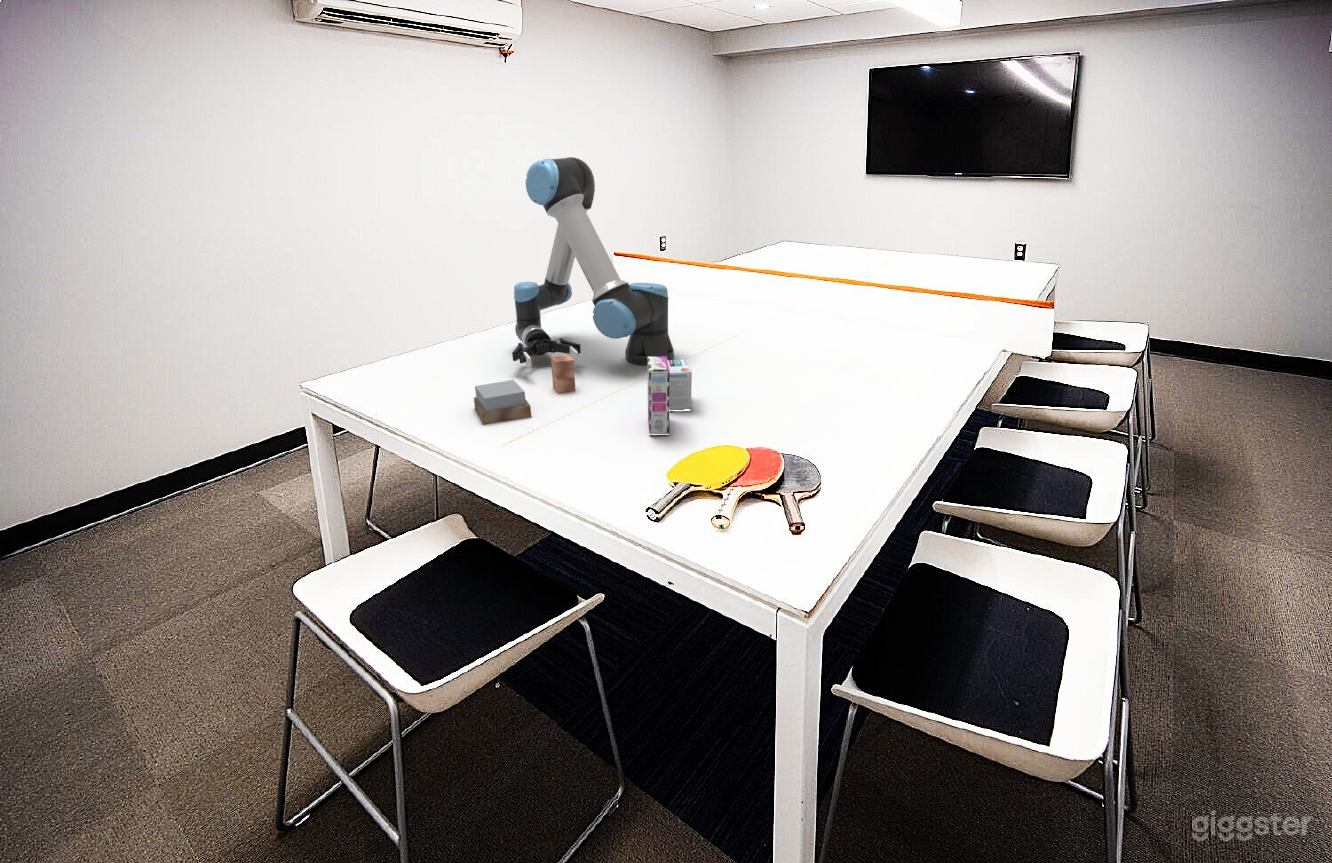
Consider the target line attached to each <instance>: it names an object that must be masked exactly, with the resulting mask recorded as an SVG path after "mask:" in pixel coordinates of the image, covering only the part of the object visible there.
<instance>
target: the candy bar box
mask: <svg viewBox="0 0 1332 863" xmlns="http://www.w3.org/2000/svg"><path fill="white" fill-rule="evenodd" d="M669 372H670V370H669V366H668V361H667V356H653V357H648V365H647V422H648V423H647V424H648V433H650V434H668V433H669V434H670V412H669V384H670V375H669Z"/></svg>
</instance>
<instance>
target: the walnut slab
mask: <svg viewBox="0 0 1332 863" xmlns="http://www.w3.org/2000/svg"><path fill="white" fill-rule="evenodd" d="M525 400H526V405H522V406H516V407H510V408H505V409H499V410H494V411H488V412H486V411H485V409H484V408H483V407H482V406H481V404H480V403H479V402H478V400H477V399H476V396H475V397H473V403H474V409H475V411H476V413H477V416H478V417H479V419H480V421H481V423H482V425H489V424H490V425H491V424H496V422H497V423H503V422H509V421H514V420H515V421H517V420H521V419H527V418H532V410H531V409H532V408H531V404H530V403H529V402H528V401H527V399H526V398H525ZM502 421H503V422H502Z"/></svg>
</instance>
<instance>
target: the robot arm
mask: <svg viewBox="0 0 1332 863" xmlns="http://www.w3.org/2000/svg"><path fill="white" fill-rule="evenodd" d="M595 183H596V182H595V177H594V173H593V171H592V169H591V167H590V166H589V165H588V164H587V163H586V162H585V161H583V160H582V159H580V158H578V157H572V156H571V157H570V156H569V157H563V158H545V159H544V158H543V159H542V160H537V161H535V162H534V163H532V164H531V165H530V166H529V168H528V170H527V172H526V179H525V190H526V193H527V195H528V198H529V199H530V201H532V202H533V203H534V204H537V205H538V206H542V207H543V209H544V210H545V212H546V214H547V215H548V217H552V218H554V219H555V221H556V222H557V226H556V230H555V234H554V235H555V236H554V240H553V244H552V249H551V253H550V256H549V261H548V264H547V265H548V266H547V270H546V273H545V278H544V282H543V284H540V285H539V284H538V283H537V282H534V281H524V282H523V281H522V282H517V283H516V284H514V287H513V290H514V291H513V295H514V297H513V300H514V305H515V306H514V307H515V314H516V316H515V317H516V324H515V326H514V329H515V336H517V338H518V340H519V341H521V342H519V343H517V346H516V347H515V348H514V349H513V350H512V352H511V354H512V355H511V356H512V361H513V362H517V361H518V360H519V364H524V363H525V365H526V366H527V367H528V368H529V369H530V368H532V367H533V366H532V359H531V356H543V355H545V354H546V353H547V354H548V353H552V354H555V353H562V354H566V355H569V356H570V357H571V358H572V359H573V360H574V361H575V362H579V354H581V353H582V349H581V348H582V347H581V344H580V343H577V342H574V341H573V342H572V341H569V340H565V339H564V338H558V341H557V340H553V339H552V338H551V337H550V335H549V334H548V333H547V332H546V331H545V330H544V329H543V327H542V321H541V320H542V319H541V317H542V316H541V311H543V310H545V309H548V308H551V307H556V306H559V305H562V304H564V303H567V302H568V301H569V300H570V299H571V298H572V295H573V291H572V286H571V284H570V282H569V281H570V278H571V274H572V269H573V266H574V263H575V260H576V261H577V262H578V263H577V264H578V265H579V267H580V268H581V271H582V273H583V274H584V277H585V278H586V281H587V282H588V284H589V286H590V289H591V290H592V292H593V296H592V299H591V302H592V303H593V306H594V307H593V310H592V313H593V315H592V320H593V323H594V325H595V327H596V328H597V330H598V332H600V333H601V334H602V335H603V336H605V337H606V338H610V339H613V340H614V339H615V340H616V339H617V340H619V339H621V338H627V337H628V340H627V341H628V342H627V344H626V347H625V352H624V355H625V358H624V359H625V361H627V362H629V363H631V364H636V365H644V366H645V365H646V366H648V357H653V356H667V360H675V350H674V346H673V343H672V341H671V338H670V335H669V300H670V297H669V295H668V294H669V293H668V292H669V289H668V287H667V286H665V285H664V284H660V283H653V282H632V283H630V284H629V282H628V281H625V280H622V279H621V278H620V275H619V274H618V272H617V270H616V268H615V266H614V263H613V262H612V260H611V258H610V256H609V254H608V253H607V250H606V248H605V246H604V244H603V242H602V241H601V238H600V236H599V235H598V233H597V231H596V228H595V227H594V225H593V222H592V221H591V218H590V217H589V215H588V214H587V212H588V211H589V210H591V209H592V206H593V203H594V197H595V189H596V185H595Z"/></svg>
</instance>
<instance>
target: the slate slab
mask: <svg viewBox="0 0 1332 863" xmlns="http://www.w3.org/2000/svg"><path fill="white" fill-rule="evenodd" d="M474 389H475V390H474V391H475V397H476V399H477V400H478V402H479V403H480V404H481V406H482V407H483V408H484V409H485V411H486V412H488V411H494V410H499V409H505V408H510V407H516V406H522V405H526V400H527V399H526V391H525V390H524V389H523V388H522V386H520V385H519V384H518V383H517V382H516V381H515V380H514V379H511V380H510V379H509V380H504V381H499V382H492V383H486V384H481V385H480V384H479V385H474ZM525 399H526V400H525Z"/></svg>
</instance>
